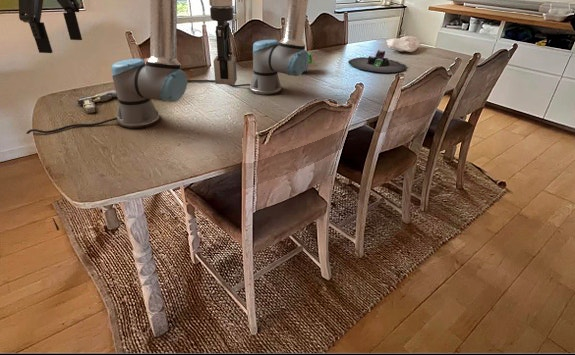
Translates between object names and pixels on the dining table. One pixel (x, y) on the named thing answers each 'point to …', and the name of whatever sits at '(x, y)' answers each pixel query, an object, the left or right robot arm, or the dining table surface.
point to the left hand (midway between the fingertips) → (62, 45)
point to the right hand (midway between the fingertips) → (225, 75)
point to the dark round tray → (377, 63)
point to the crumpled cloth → (404, 44)
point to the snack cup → (308, 61)
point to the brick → (231, 71)
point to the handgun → (95, 100)
